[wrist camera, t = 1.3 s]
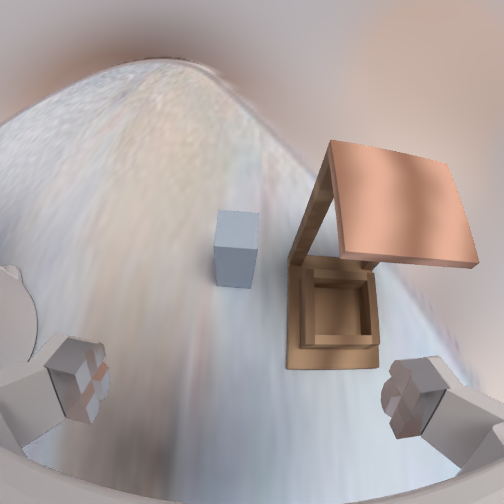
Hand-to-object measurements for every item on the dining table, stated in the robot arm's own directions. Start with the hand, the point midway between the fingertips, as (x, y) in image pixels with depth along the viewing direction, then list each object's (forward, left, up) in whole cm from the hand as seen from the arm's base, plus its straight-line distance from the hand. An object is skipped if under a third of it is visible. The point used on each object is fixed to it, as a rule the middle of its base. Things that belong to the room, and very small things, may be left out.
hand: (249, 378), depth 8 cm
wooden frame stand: (+11, +10, -27) cm, 31 cm away
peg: (-1, +15, -27) cm, 31 cm away
